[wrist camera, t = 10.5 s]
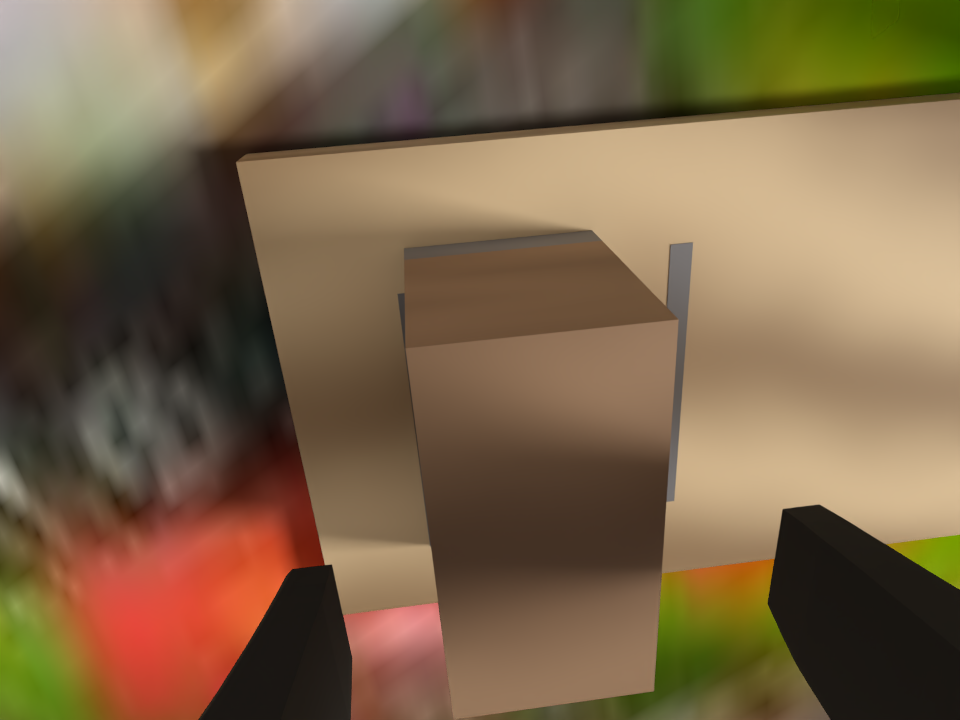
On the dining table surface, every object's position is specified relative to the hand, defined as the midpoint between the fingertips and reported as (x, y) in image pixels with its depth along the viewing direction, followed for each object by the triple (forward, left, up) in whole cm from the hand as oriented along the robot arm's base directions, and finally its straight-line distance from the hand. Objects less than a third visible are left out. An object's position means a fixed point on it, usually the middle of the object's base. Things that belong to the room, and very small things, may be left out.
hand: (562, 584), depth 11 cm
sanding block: (0, 0, -6) cm, 6 cm away
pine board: (0, -5, -7) cm, 8 cm away
